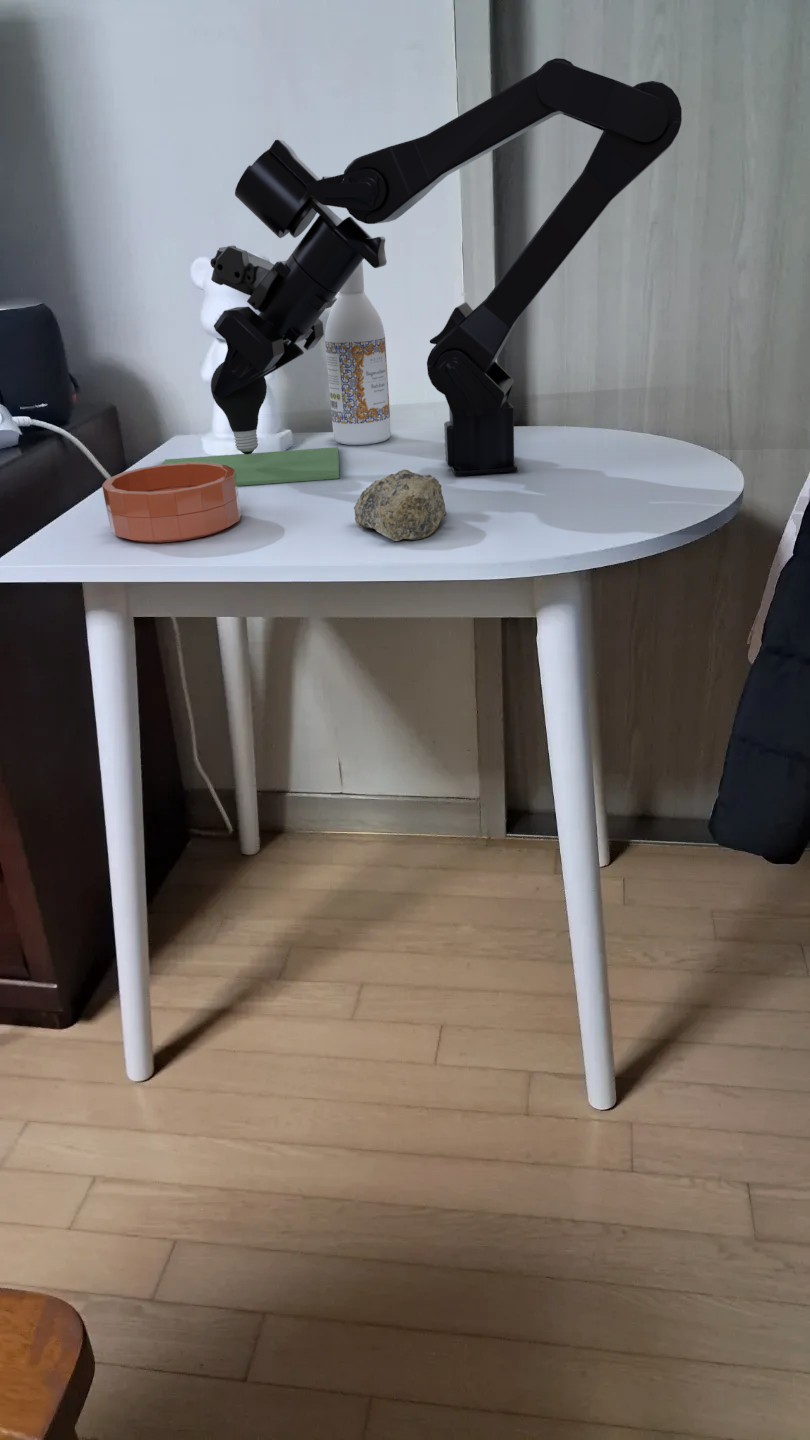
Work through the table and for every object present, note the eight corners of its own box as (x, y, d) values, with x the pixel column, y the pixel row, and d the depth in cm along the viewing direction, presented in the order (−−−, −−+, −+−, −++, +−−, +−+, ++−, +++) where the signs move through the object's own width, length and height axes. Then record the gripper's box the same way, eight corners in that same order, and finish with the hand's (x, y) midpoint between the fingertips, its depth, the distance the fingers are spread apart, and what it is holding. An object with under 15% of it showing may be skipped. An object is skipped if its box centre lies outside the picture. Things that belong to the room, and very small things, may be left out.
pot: (245, 505, 100) (239, 458, 98) (235, 539, 89) (228, 488, 87) (124, 514, 99) (116, 467, 97) (101, 549, 89) (91, 498, 87)
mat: (338, 450, 120) (337, 446, 120) (339, 478, 107) (339, 474, 107) (165, 462, 119) (165, 459, 119) (146, 492, 107) (145, 488, 106)
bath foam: (360, 448, 120) (346, 261, 111) (322, 442, 124) (305, 261, 116) (403, 437, 124) (392, 256, 115) (364, 431, 129) (351, 256, 120)
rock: (468, 531, 87) (466, 478, 85) (383, 547, 85) (379, 492, 83) (431, 512, 93) (429, 462, 91) (351, 527, 91) (347, 475, 89)
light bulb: (225, 463, 109) (210, 364, 105) (217, 453, 114) (203, 358, 110) (279, 455, 110) (267, 358, 106) (269, 446, 116) (257, 352, 111)
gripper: (282, 211, 109) (201, 327, 116) (219, 215, 93) (129, 349, 100) (361, 287, 111) (276, 396, 118) (312, 303, 95) (218, 429, 102)
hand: (227, 391), depth 110 cm, fingers closed on light bulb, 6 cm apart
